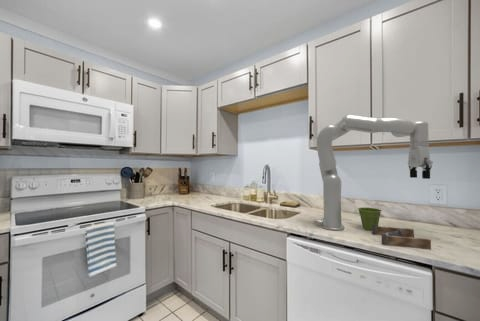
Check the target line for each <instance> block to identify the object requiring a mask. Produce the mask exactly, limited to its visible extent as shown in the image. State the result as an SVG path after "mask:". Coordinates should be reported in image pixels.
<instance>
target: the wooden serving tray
mask: <svg viewBox="0 0 480 321" xmlns="http://www.w3.org/2000/svg"><path fill="white" fill-rule="evenodd" d="M400 228H401V231H402V233H403V235H404V237H400V236H388V235H386V234H385V233H387V232H392V231H398V230H399V229H400ZM414 232H415V231H414V229H413V228H406V227H404V228H403V227H395V226H394V227H393V226H392V227H391V226H379V225H378V226H375V225H374V224H372V231H371V234H372V235H377V236H381V245H383V246H391V247H392V246H393V247H400V248H410V249H411V248H413V249H422V250H424V249H425V250H432V239H430V238H421V237H415V233H414Z"/></svg>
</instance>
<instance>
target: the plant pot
mask: <svg viewBox="0 0 480 321" xmlns="http://www.w3.org/2000/svg"><path fill="white" fill-rule="evenodd" d="M357 210H358V213H359V216H360V221H361V225H362V229H364V230H366V231H370V232H372V224H374V225H375V226H379V222H380V217H381V214H382V212H383V211H382V209H380V208H376V207H375V208H374V207H365V206H364V207H358V208H357Z"/></svg>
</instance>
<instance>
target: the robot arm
mask: <svg viewBox="0 0 480 321" xmlns="http://www.w3.org/2000/svg"><path fill="white" fill-rule="evenodd" d="M350 131H357V132H362V133H367V134H374V133H390V134H391V135H392V136H393V137H395V138H404V137H409V151H408V157H407V158H408V161H407V164H408V170H409V178H414V179H415V178H416V179H417V178H418V170H417V169H418V168H421V169H422V171H421V176H422V179H424V180H426V179H428V180H429V179H431V171H432V167H433V161H432V160H431V154H430V149H429V146H430V145H429V123H428V122H427V121H422V120H420V121H414V122H412V121H411V120H408V119H404V118H396V117H395V118H394V117H370V116H363V115H356V114H346V115H345V116H344V117H342V118H341V120H339V121H338V122H336V123H335V124H329V125H325V127H324V128H322V129H321V130H320V131H319V132H318V135H317V138H316V149H317V151H316V152H317V156H318V166H319V171H320V174H321V180H322V184H323V192H322V193H323V195H322V196H323V197H322V198H323V199H322V201H323V217H322V218H321V219H319V218H316V219H315V223H317V224H320V227H321V228H323V229H324V230H325V229H326V230H329V231H343V230H344V229H345V225H343V224H342V180H341V178H340V176H339V174H338V170H337V161H336V158H335V153H334V150H333V141H335V140H337V139H339V138H340V137H342V136H344V135H346V134H347V133H349V132H350Z"/></svg>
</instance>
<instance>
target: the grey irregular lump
mask: <svg viewBox="0 0 480 321" xmlns="http://www.w3.org/2000/svg"><path fill="white" fill-rule="evenodd" d="M399 228H400V229H399V230H398V231H392V232H387V233H385V234H386V235H388V236H400V237H404V235H403V233H402V231H401V228H402V227H399Z"/></svg>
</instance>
